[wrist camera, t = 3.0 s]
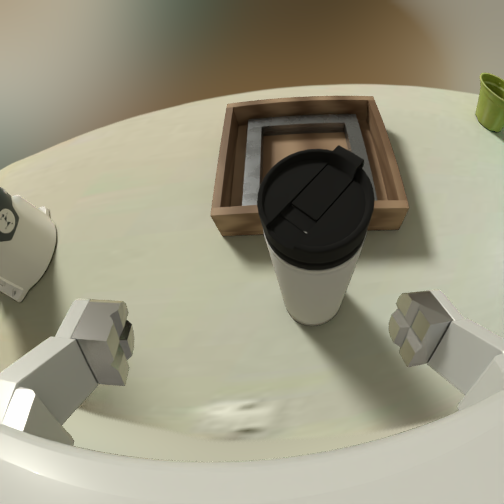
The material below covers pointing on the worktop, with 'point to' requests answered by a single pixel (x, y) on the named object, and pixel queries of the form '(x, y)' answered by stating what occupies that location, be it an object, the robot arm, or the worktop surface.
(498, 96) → the plant pot
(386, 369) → the worktop surface
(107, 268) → the worktop surface
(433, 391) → the worktop surface
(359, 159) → the travel mug
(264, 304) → the worktop surface
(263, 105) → the open box
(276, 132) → the plate
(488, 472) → the robot arm
